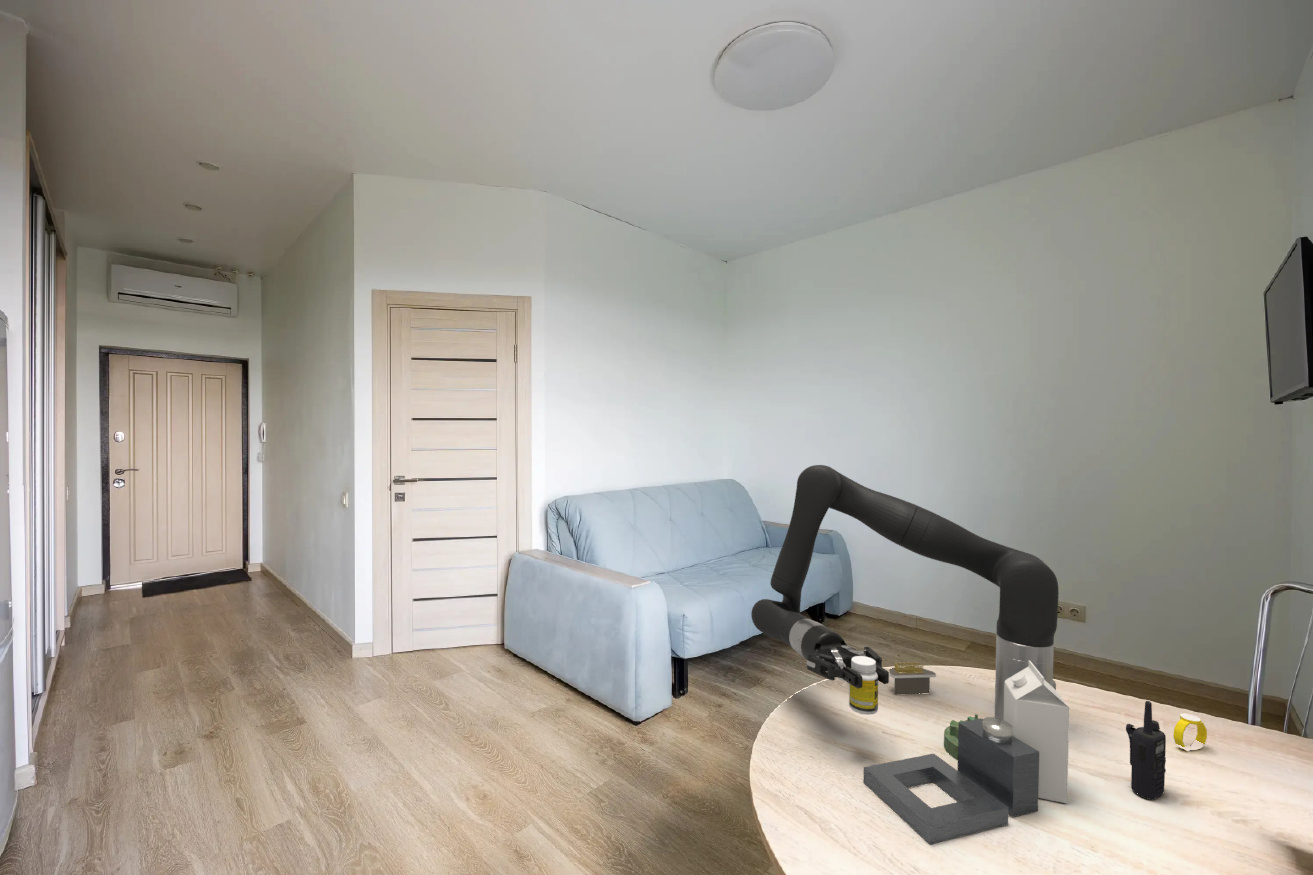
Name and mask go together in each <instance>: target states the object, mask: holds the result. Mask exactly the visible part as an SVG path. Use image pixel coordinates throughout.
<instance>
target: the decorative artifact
mask: <svg viewBox="0 0 1313 875" xmlns="http://www.w3.org/2000/svg"><path fill="white" fill-rule="evenodd" d="M976 719H982V718H979V715H978V714H977V713H974V716H971V715H970V716H967V718H966V720H961V719H960V721H957V720H954V719H952V720H950V722H949V726H947V727H946V728H945V729H944V732H943V747H944V750H945V751H946V753H947V754H948V753H949V754H948V755H949V756H950V757H952V758H954V759H955V760H956V761H958V725H959V722H965V721H970V720H976Z"/></svg>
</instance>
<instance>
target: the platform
mask: <svg viewBox="0 0 1313 875" xmlns="http://www.w3.org/2000/svg"><path fill="white" fill-rule="evenodd" d="M891 668H892V669H888V672H889V677H891V678H893V679H894V683H893V685H894V690H893V692H894V694H895V696H898V695H897V694H905V695H923V694H922V693H929V694H930V691H931V689H930V685H931V678H936V677H937V673H936V672H934V671H933V670H929V669H926V668H924V664H923V665H920V662H919V661H918V662H894V667H891ZM919 693H920V694H919ZM894 694H893V695H894Z"/></svg>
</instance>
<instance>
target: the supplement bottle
mask: <svg viewBox="0 0 1313 875" xmlns="http://www.w3.org/2000/svg"><path fill="white" fill-rule="evenodd" d="M851 667H852V668H851V669H853V670H854V671H856V672H857V673H859V674H860V675H861V676H862V688H856V687H855V686H853V685H851V684H849V683H848V706H849V708H850V709H851V710H852V711H853V712H855V713H858V714H860V715H867V716H868V715H874V714H876V713H877V712H878V710H879V681H878V675H877V673H876V672H875V671H876V662H875V660H874V659H872V658H869V657H865V656H855V657H853V658H852V659H851Z"/></svg>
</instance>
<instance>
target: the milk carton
mask: <svg viewBox="0 0 1313 875" xmlns="http://www.w3.org/2000/svg"><path fill="white" fill-rule="evenodd" d="M1004 721H1006V722H1008V723H1009V724H1011V725H1012V736H1013V737H1015V738H1017V739H1019V740H1020V741H1022V742H1024V743H1025V744H1027V745H1029V746H1031V747H1032V748H1034V749H1036V750H1037V751H1039V788H1038V799H1042V800H1047V801H1053V802H1057V803H1058V802H1059V803H1063V804H1067V803H1068V784H1069V783H1068V781H1069V780H1068V777H1069V742H1070V741H1069V740H1070V739H1069V738H1070V737H1069V736H1070V735H1069V734H1070V732H1069V730H1070V729H1069V728H1070V706H1069V705H1068V704H1067V703H1066V701H1065V700H1064V699H1063V698H1062V696H1061V695H1060V694H1059V692H1057V689H1056V690H1055V689H1054V688H1053V687H1052V686H1051V685H1050V684H1049V683H1048V682H1046V681H1045V680H1044V677H1043V676H1042V675H1041V674H1040V672H1039V671H1038V670H1037V669H1036V667H1035V666H1034V665H1033V664H1032V662H1031V661H1030V660H1029V666H1028V667H1027V668H1025V669H1023V670H1022V671H1020V672H1018V673H1017V674H1015V675H1013V676H1012V677H1010V678H1008V679H1007V680H1005V683H1004Z"/></svg>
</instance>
